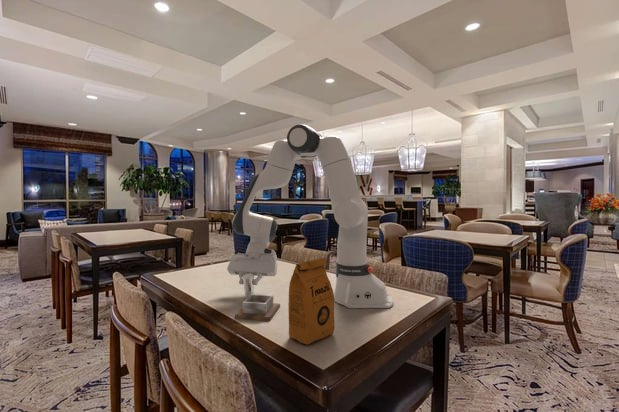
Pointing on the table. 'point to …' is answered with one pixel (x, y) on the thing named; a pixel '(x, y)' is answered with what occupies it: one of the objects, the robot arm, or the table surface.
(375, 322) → the table surface
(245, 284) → the milkshake
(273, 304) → the socket base
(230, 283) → the table surface
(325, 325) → the coffee package
